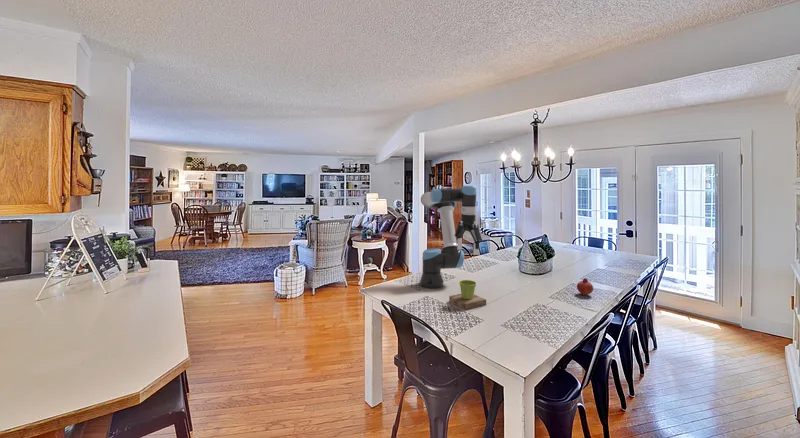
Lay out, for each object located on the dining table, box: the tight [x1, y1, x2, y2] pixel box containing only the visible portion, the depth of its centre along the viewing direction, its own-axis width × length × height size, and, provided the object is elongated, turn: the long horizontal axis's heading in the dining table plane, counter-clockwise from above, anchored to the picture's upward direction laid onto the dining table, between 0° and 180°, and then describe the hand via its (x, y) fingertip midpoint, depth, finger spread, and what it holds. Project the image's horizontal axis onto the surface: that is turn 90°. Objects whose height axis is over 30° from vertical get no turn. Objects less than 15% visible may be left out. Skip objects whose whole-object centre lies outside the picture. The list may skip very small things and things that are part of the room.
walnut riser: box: [449, 293, 487, 311], centre depth 171 cm, size 14×14×3 cm
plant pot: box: [458, 279, 478, 300], centre depth 170 cm, size 9×9×9 cm
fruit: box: [576, 277, 594, 296], centre depth 182 cm, size 8×8×10 cm
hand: (467, 252), depth 173 cm, fingers open, 13 cm apart
